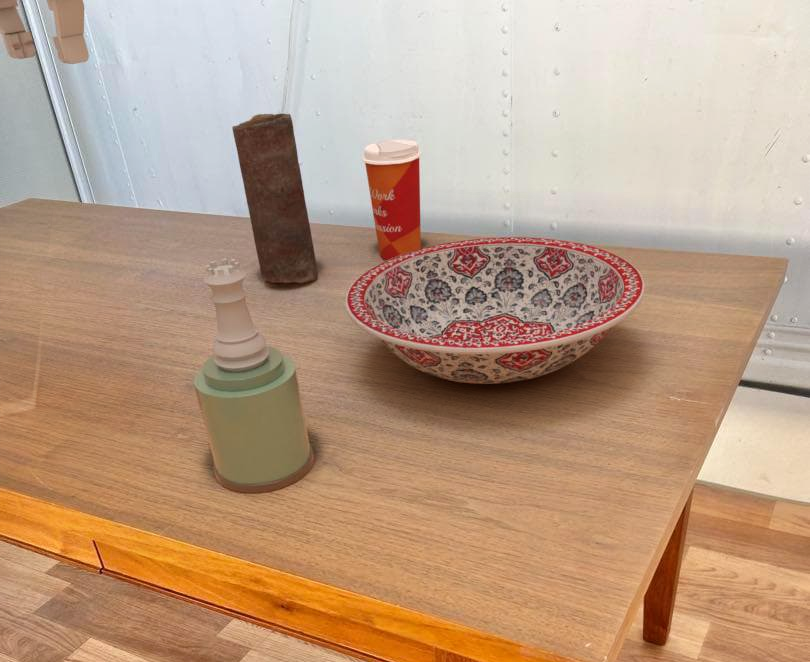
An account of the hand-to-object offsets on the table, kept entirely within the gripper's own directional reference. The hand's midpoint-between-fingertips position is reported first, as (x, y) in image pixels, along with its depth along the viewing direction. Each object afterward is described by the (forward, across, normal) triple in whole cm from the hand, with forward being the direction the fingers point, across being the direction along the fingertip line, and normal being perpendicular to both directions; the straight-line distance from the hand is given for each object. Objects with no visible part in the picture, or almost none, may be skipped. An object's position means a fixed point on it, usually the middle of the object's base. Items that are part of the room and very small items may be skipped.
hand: (48, 60), depth 67 cm
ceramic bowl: (+31, -21, -29) cm, 47 cm away
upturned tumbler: (+31, -18, -1) cm, 36 cm away
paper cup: (+31, +12, -46) cm, 57 cm away
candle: (+31, +17, -31) cm, 47 cm away
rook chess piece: (+21, -18, -1) cm, 28 cm away
